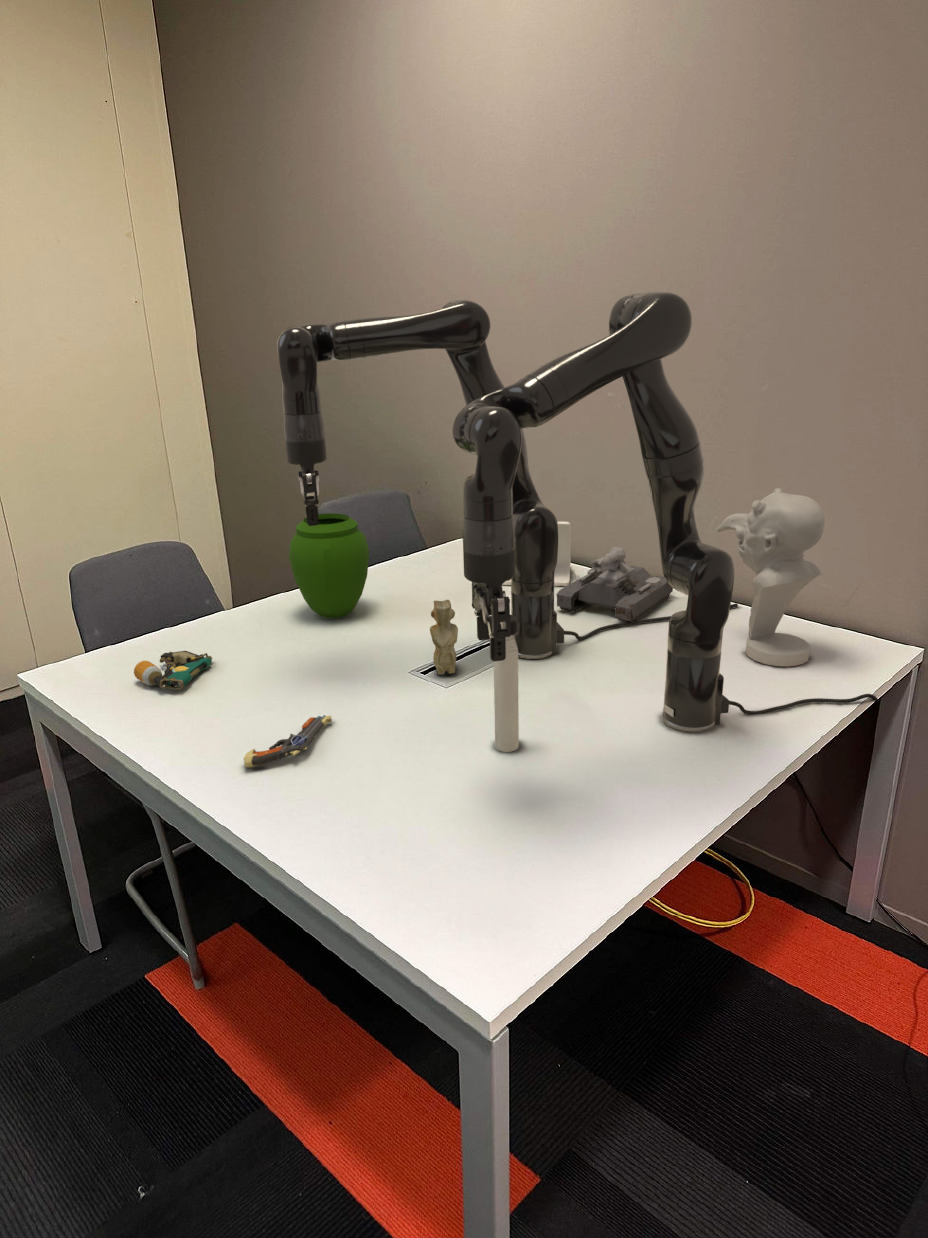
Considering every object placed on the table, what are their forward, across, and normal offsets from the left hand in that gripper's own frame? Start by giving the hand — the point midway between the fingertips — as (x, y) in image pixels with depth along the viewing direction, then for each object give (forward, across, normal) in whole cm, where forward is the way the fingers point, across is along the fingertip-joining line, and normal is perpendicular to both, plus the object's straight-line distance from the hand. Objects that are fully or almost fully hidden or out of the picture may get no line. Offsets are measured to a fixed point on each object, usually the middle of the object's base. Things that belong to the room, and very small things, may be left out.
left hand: (312, 520), depth 168 cm
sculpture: (+33, -5, -24) cm, 42 cm away
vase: (+33, +36, -4) cm, 49 cm away
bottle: (+33, -40, -29) cm, 59 cm away
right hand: (+10, -51, -24) cm, 57 cm away
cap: (+10, -40, -29) cm, 50 cm away
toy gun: (+33, -30, +8) cm, 45 cm away
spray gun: (+33, +7, +31) cm, 46 cm away
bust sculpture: (+33, -13, -92) cm, 99 cm away
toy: (+33, +23, -73) cm, 84 cm away
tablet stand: (+33, +53, -58) cm, 85 cm away
